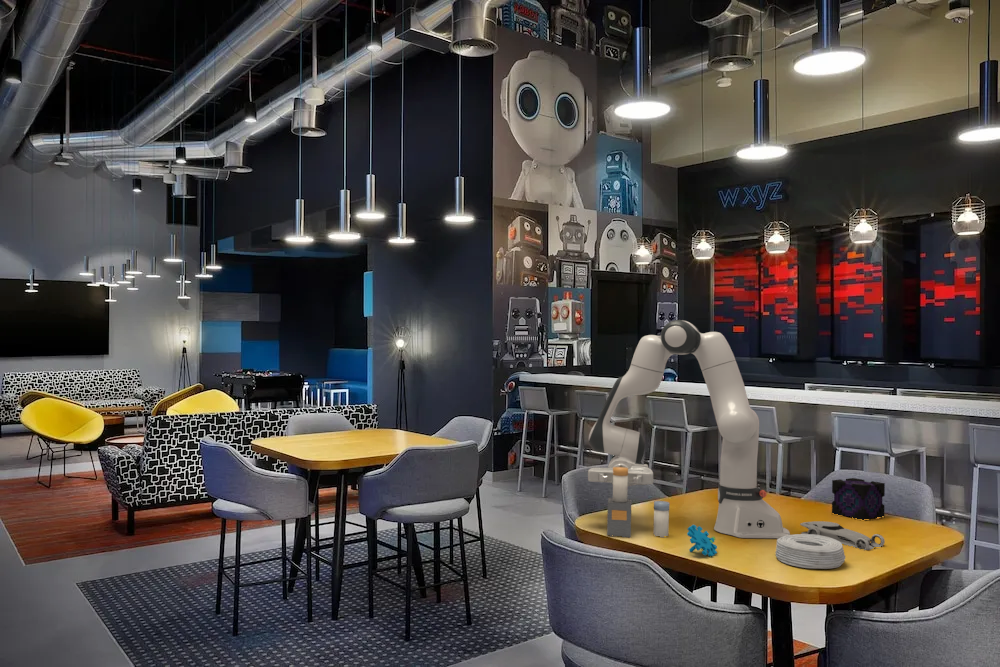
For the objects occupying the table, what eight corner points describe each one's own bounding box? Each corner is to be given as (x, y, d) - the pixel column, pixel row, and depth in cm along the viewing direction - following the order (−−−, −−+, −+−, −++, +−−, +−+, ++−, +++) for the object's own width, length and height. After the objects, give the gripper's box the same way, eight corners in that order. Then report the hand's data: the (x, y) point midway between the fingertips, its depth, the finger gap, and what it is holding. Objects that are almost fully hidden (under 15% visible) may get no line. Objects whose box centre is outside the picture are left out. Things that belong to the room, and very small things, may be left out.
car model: (868, 552, 222) (868, 535, 222) (792, 535, 241) (792, 519, 241) (888, 547, 228) (888, 530, 228) (812, 531, 248) (812, 515, 248)
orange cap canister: (627, 499, 239) (628, 467, 239) (627, 502, 234) (628, 469, 235) (612, 499, 240) (613, 466, 240) (612, 501, 235) (612, 468, 235)
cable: (835, 556, 216) (836, 534, 216) (853, 574, 199) (853, 550, 199) (770, 552, 219) (770, 530, 219) (782, 569, 202) (782, 546, 202)
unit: (630, 531, 240) (631, 498, 241) (630, 537, 232) (631, 504, 232) (608, 529, 242) (608, 497, 242) (607, 536, 233) (607, 502, 233)
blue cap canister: (667, 534, 238) (668, 501, 238) (669, 537, 233) (670, 504, 233) (652, 533, 238) (653, 500, 238) (653, 536, 234) (654, 503, 234)
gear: (703, 554, 208) (684, 522, 214) (688, 566, 211) (670, 535, 217) (727, 554, 215) (708, 523, 221) (712, 566, 218) (694, 535, 224)
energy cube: (853, 511, 279) (853, 477, 280) (884, 517, 269) (884, 483, 269) (831, 514, 273) (832, 480, 274) (863, 521, 263) (863, 485, 263)
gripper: (588, 461, 252) (586, 468, 238) (652, 464, 248) (653, 471, 235) (588, 481, 252) (585, 488, 238) (652, 484, 248) (653, 492, 234)
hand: (620, 480), depth 236 cm, fingers open, 8 cm apart
